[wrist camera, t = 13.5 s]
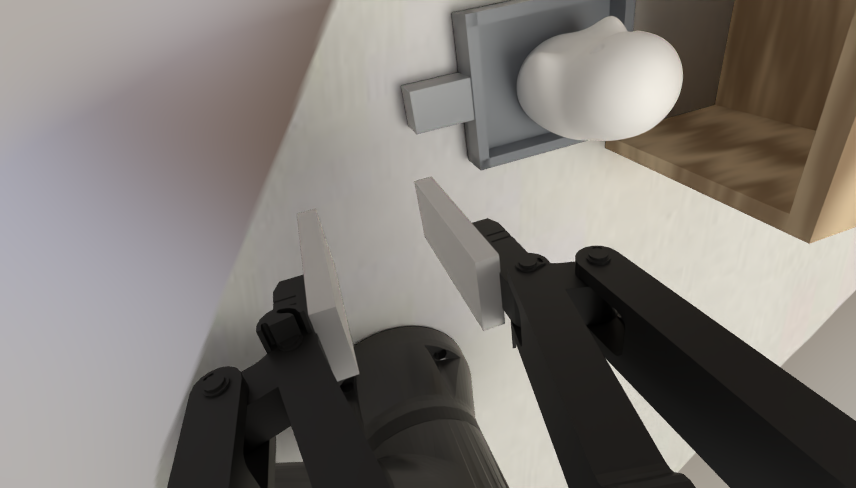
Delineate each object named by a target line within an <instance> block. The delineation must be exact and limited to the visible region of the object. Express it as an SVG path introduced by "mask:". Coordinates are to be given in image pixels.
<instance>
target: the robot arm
mask: <svg viewBox="0 0 856 488" xmlns="http://www.w3.org/2000/svg"><path fill="white" fill-rule="evenodd" d="M414 183H415V188H416V193H417V198H418V204H419V209H420V214H421V219H422V225H423V230H424V235H425V238H426V240H427V241H428V243H429V244H430V246H431V248H432V249H433V251H434V252H435V254H436V256H437V257H438V259H439V260H440V262H441V264H442V265H443V267H444V268H445V270H446V272H447V273H448V275H449V276H450V278H451V280H452V281H453V283H454V284H455V286H456V288H457V289H458V291H459V292H460V294H461V296H462V297H463V299H464V300H465V302H466V304H467V305H468V307H469V308H470V310H471V312H472V313H473V315H474V316H475V318H476V320H477V321H478V323H479V324H480V326H481V328H482V329H483V331H485V330H488V329H490V328H493V327H496V326H499V325H502V324H505V318H504V311H505V312H506V314H507V315H508V317H509V318H510V319H511V330H512V343H513V348H516V345H517V347H518V350H519V353H520V356H521V358H522V361H523V364H524V367H525V369H526V372H527V375H528V378H529V380H530V383H531V386H532V389H533V391H534V394H535V397H536V400H537V402H538V405H539V408H540V410H541V413H542V416H543V419H544V421H545V424H546V427H547V430H548V432H549V435H550V438H551V441H552V443H553V446H554V449H555V452H556V454H557V457H558V460H559V463H560V465H561V468H562V471H563V474H564V476H565V479H566V482H567V485H568V487H569V488H696V487H695V486H694V485H693V483H692V482H691V480H690V479H688V478H687V477H686V476H685V475H684V474H681V473H676V472H673V471H672V470H671V469H670V468H669V466H668V465H667V463H666V462H665V460H664V458H663V457H662V455H661V453H660V452H659V450H658V448H657V446H656V445H655V443H654V441H653V440H652V438H651V436H650V434H649V433H648V431H647V429H646V427H645V426H644V424H643V422H642V421H641V419H640V417H639V415H638V414H637V412H636V410H635V409H634V407H633V405H632V403H631V402H630V400H629V398H628V397H627V395H626V393H625V391H624V390H623V388H622V386H621V384H620V383H619V381H618V379H617V378H616V376H615V374H614V372H613V371H612V369H611V367H610V366H609V364H608V362H607V360H608V361H609V362H610V363H611V365H612V366H613V367H614V368H615V369H616V370H617V371H618V372H619V373H620V374H621V375H622V376H623V377H624V378H625V379H626V380H627V381H628V382H629V383H630V384H631V385H632V386H633V387H634V388H635V389H636V390H637V392H638V393H639V394H640V395H641V396H642V397H643V398H644V399H645V400H646V401H647V402H648V403H649V404H650V405H651V406H652V407H653V408H654V409H655V410H656V411H657V412H658V413H659V414H660V415H661V416H662V417H663V419H664V420H665V421H666V422H667V423H668V424H669V425H670V426H671V427H672V428H673V429H674V430H675V431H676V432H677V433H678V434H679V435H680V436H681V437H682V438H683V439H684V440H685V441H686V442H687V443H688V444H689V446H690V447H691V448H692V449H693V450H694V451H695V452H696V453H697V454H698V455H699V456H700V457H701V458H702V459H703V460H704V461H705V462H706V463H707V464H708V465H709V466H710V467H711V468H712V469H713V470H714V471H715V473H717V475H718V476H719V477H720V478H721V479H722V480H723V481H724V482H725V483H726V484H727V485H728V486H729V487H730V488H856V421H855V420H853V419H852V418H851V417H849V416H848V415H846V414H845V413H844V412H842V411H841V410H839V409H838V408H837V407H835V406H834V405H832V404H831V403H829V402H828V401H827V400H825V399H824V398H823V397H821V396H820V395H818V394H817V393H816V392H814V391H813V390H811V389H810V388H808V387H807V386H806V385H804V384H803V383H801V382H800V381H799V380H797V379H796V378H794V377H793V376H791V375H790V374H789V373H787V372H786V371H785V370H783V369H782V368H780V367H779V366H778V365H776V364H775V363H773V362H772V361H770V360H769V359H768V358H766V357H765V356H763V355H762V354H761V353H759V352H758V351H756V350H755V349H754V348H752V347H751V346H749V345H748V344H747V343H745V342H744V341H742V340H741V339H740V338H738V337H737V336H735V335H734V334H732V333H731V332H730V331H728V330H727V329H725V328H724V327H723V326H721V325H720V324H718V323H717V322H716V321H714V320H713V319H711V318H710V317H709V316H707V315H706V314H704V313H703V312H702V311H700V310H699V309H697V308H696V307H695V306H693V305H692V304H690V303H689V302H687V301H686V300H685V299H683V298H682V297H680V296H679V295H678V294H676V293H675V292H673V291H672V290H671V289H669V288H668V287H666V286H665V285H664V284H662V283H661V282H659V281H658V280H657V279H655V278H654V277H652V276H651V275H649V274H648V273H647V272H645V271H644V270H642V269H641V268H640V267H638V266H637V265H635V264H634V263H633V262H631V261H630V260H628V259H627V258H626V257H624V256H623V255H621V254H620V253H619V252H617V251H615V250H613V249H611V248H609V247H604V246H589V247H585V248H583V249H581V250H579V251H578V252H577V254H576V255H575V262H566V263H550V262H549V261H548V260H547V259H546V258H545V257H543V256H541V255H539V254H534V253H528V252H527V251H526V250H525V249H524V248H523V247H522V246H521V245H520V244H519V243H518V242H517V241H516V240H515V239H514V238H513V237H511V235H510V234H509V233H508V232H507V231H505V229H504V228H503V227H502V226H501V225H500V224H499V223H498V222H495V221H493V220H490V219H488V218H487V219H484V220H480V221H477V222H474V223H471V222H470V221H469V219H468V218H467V217H466V216H465V215H464V214H463V212H462V211H461V210H460V209H459V208H458V207H457V205H456V204H455V203H454V202H453V201H452V200H451V199H450V197H449V196H448V195H447V194H446V193H445V192H444V190H443V189H442V188H441V187H440V186H439V185H438V183H437V182H436V181H435V180H434V179H433V178H432V177H428V178H424V179H421V180H417V181H414ZM297 220H298V229H299V238H300V247H301V256H302V264H303V273H304V275H301V276H297V277H294V278H291V279H287V280H284V281H281V282H279V283H278V285H277V287H276V288H275V290H274V292H273V303H274V304H273V310H272V311H270V312H268V313H266V314H265V315H264V316H263V317H262V318H261V319H260V320H259V322H258V324H257V326H256V332H257V334H258V336H259V338H260V340H261V342H262V344H263V346H264V348H265V350H266V352H267V354H266V356H265V357H263V358H262V359H261V360H260V361H259V362H257V363H256V364H254V365H253V366H251V367H249V368H247V369H246V370H244V371H242V372H240V371H239V370H238V369H237V368H236V367H230V366H227V367H221V368H218V369H215V370H213V371H211V372H209V373H207V374H206V375H205V376H203V377H202V378H200V380H199V381H198V382H197V383H196V384H195V385H194V386H193V388H192V391H191V393H190V395H189V399H188V404H187V408H186V412H185V416H184V420H183V424H182V428H181V433H180V437H179V441H178V445H177V449H176V453H175V458H174V462H173V466H172V470H171V474H170V478H169V482H168V487H167V488H509V486H508V484H507V482H506V480H505V478H504V476H503V474H502V472H501V470H500V468H499V466H498V464H497V462H496V460H495V458H494V456H493V454H492V452H491V450H490V448H489V446H488V444H487V442H486V440H485V438H484V436H483V434H482V432H481V430H480V428H479V426H478V424H477V421H476V419H475V411H474V401H473V391H472V381H471V373H470V369H469V366H468V363H467V361H466V359H465V357H464V355H463V354H462V352H461V350H460V348H459V346H458V345H457V344H456V343H455V341H454V340H452V339H451V338H450V337H449V336H447V335H446V334H444V333H442V332H440V331H437V330H434V329H430V328H425V327H401V328H395V329H391V330H387V331H383V332H381V333H378V334H375V335H373V336H371V337H369V338H367V339H365V340H363V341H362V342H360V343H358V344H357V345H355V346H354V347H353V344H352V339H351V335H350V331H349V326H348V322H347V317H346V313H345V309H344V304H343V300H342V296H341V291H340V287H339V283H338V278H337V274H336V270H335V265H334V262H333V259H332V256H331V253H330V250H329V247H328V244H327V241H326V238H325V235H324V232H323V229H322V226H321V223H320V220H319V217H318V214H317V211H316V209H312V210H309V211H305V212H301V213H298V214H297ZM605 358H606V359H607V360H606V359H605ZM289 426H292V429H293V432H294V435H295V438H296V441H297V444H298V447H299V450H300V453H301V456H302V459H303V462H287V463H275V455H276V435H277V434H279V433H280V432H282V431H283V430H285V429H286V428H288V427H289Z"/></svg>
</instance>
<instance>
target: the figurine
mask: <svg viewBox="0 0 856 488" xmlns="http://www.w3.org/2000/svg"><path fill="white" fill-rule="evenodd" d="M682 82H683V70H682V64H681V61H680V58H679V56H678V54H677V52H676V50H675V49H674V48H673V46H672V45H671V44H670V43H669V42H668V41H666V40H665V39H663V38H662V37H660V36H658V35H655V34H652V33H649V32H645V31H633V32H628V31H627V29H626V28H625V26H624V25H623V23H622V22H621V21H620V20H619V19H618V18H617V17H614V16H608V17H605V18H603V19H602V20H600V21H598V22H597V23H595V24H594V25H592V26H590V27H589V28H586V29H584V30H581V31H577V32H572V33H566V34H561V35H557V36H554V37H552V38H549V39H547V40H545V41H544V42H542V43H541V44H539V45H538V46H537V47H536V48H535V49H534V50H532V51H531V53H530V54H529V55H528V56H527V57H526V59H525V60H524V62H523V64H522V66H521V68H520V71H519V74H518V78H517V96H518V100H519V103H520V105H521V107H522V108H523V110H524V111H525V113H526V114H527V115H528V116H529V117H530V118H531V119H532V120H533V121H534V122H536V123H537V124H538V125H540V126H541V127H543V128H545V129H546V130H548V131H550V132H552V133H555V134H557V135H560V136H562V137H566V138H570V139H575V140H599V141H614V140H621V139H626V138H630V137H634V136H637V135H640V134H642V133H644V132H647V131H648V130H650V129H652V128H653V127H655V126H656V125H657V124H658V123H659V122H661V121H662V120H663V119H664V118H665V117H666V115H667V114H668V113H669V112H670V111H671V109H672V108H673V106H674V105H675V103H676V101H677V99H678V97H679V94H680V91H681V88H682Z"/></svg>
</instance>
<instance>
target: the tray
mask: <svg viewBox="0 0 856 488" xmlns="http://www.w3.org/2000/svg"><path fill="white" fill-rule="evenodd" d="M635 4H636V0H510V1H505V2H501V3H496V4H491V5H486V6H482V7H477V8H472V9H467V10H463V11H458V12H453V13H452V20H453V29H454V38H455V47H456V55H457V64H458V73H453V74H449V75H445V76H441V77H437V78H432V79H428V80H424V81H420V82H415V83H411V84H407V85H403V86H401V89H402V94H403V99H404V105H405V110H406V116H407V121H408V126H409V127H410V128H411V129H412V130H413V131H414V132H415V133H416V134H421V133H424V132H428V131H432V130H436V129H440V128H444V127H448V126H452V125H456V124H459V123H463V122H464V125H465V134H466V142H467V151H468V160H469V161H470V162H472V163H473V164H474V165H475V166H476V167H477V168H479V169H480V170H484V169H488V168H491V167H495V166H498V165H502V164H506V163H509V162H513V161H516V160H520V159H523V158H527V157H531V156H534V155H538V154H541V153H545V152H548V151H552V150H556V149H559V148H563V147H566V146H570V145H574V144H577V143H581V142H584V141H588V140H575V139H570V138H566V137H562V136H560V135H557V134H555V133H552V132H550V131H548V130H546V129H545V128H543V127H541V126H540V125H538V124H537V123H536V122H534V121H533V120H532V119H531V118H530V117H529V116H528V115H527V114H526V113H525V111H524V110H523V108H522V107H521V105H520V103H519V100H518V96H517V78H518V74H519V71H520V68H521V66H522V64H523V62H524V60H525V59H526V57H527V56H528V55H529V54H530V53H531V51H532V50H534V49H535V48H536V47H537V46H538V45H539V44H541V43H542V42H544V41H545V40H547V39H549V38H552V37H554V36H557V35H561V34H566V33H572V32H577V31H581V30H584V29H586V28H589V27H590V26H592V25H594V24H595V23H597V22H598V21H600V20H602V19H603V18H605V17H608V16H614V17H617V18H618V19H619V20H620V21H621V22H622V23H623V25H624V26H625V28H626V29H627V31H628V32H633V28H634V16H635Z"/></svg>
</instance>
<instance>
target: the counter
mask: <svg viewBox="0 0 856 488" xmlns="http://www.w3.org/2000/svg"><path fill="white" fill-rule="evenodd" d="M605 148H607V149H609V150H611V151H613V152H615V153H617V154H619V155H622V156H624V157H626V158H628V159H630V160H632V161H634V162H636V163H639V164H641V165H643V166H645V167H647V168H649V169H651V170H653V171H656V172H658V173H660V174H662V175H664V176H666V177H668V178H671V179H673V180H675V181H677V182H679V183H681V184H683V185H685V186H688V187H690V188H692V189H694V190H696V191H698V192H700V193H702V194H705V195H707V196H709V197H711V198H713V199H715V200H717V201H719V202H722V203H724V204H726V205H728V206H730V207H732V208H734V209H737V210H739V211H741V212H743V213H745V214H747V215H749V216H751V217H754V218H756V219H758V220H760V221H762V222H764V223H766V224H768V225H771V226H773V227H775V228H777V229H779V230H781V231H783V232H785V233H788V234H790V235H792V236H794V237H796V238H798V239H800V240H803V241H805V242H807V243H809V244H810V243H812V242H815V241H818V240H821V239H824V238H826V237H829V236H832V235H835V234H837V233H840V232H843V231H846V230H849V229H851V228H854V227H856V0H735V1H734V6H733V12H732V17H731V22H730V27H729V33H728V38H727V43H726V49H725V54H724V59H723V64H722V70H721V75H720V80H719V85H718V91H717V96H716V101H715V105H712V106H709V107H705V108H702V109H698V110H694V111H691V112H687V113H684V114H680V115H677V116H673V117H669V118H666V119H663V120H662V121H661V122H659V123H658V124H657V125H656V126H655V127H653V128H652V129H650V130H648V131H647V132H644V133H642V134H640V135H637V136H634V137H630V138H626V139H621V140H614V141H606V143H605Z"/></svg>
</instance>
